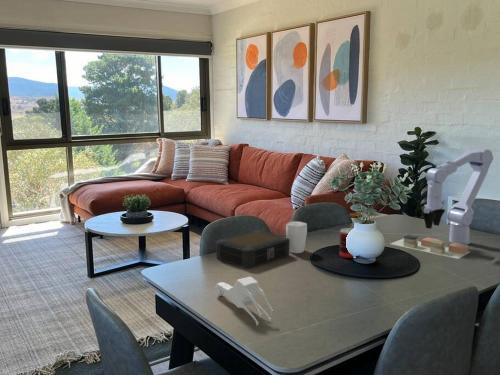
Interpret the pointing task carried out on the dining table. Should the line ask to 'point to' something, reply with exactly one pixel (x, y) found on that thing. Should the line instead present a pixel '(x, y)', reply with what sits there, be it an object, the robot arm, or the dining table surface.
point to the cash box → (252, 248)
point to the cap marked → (427, 241)
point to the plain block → (437, 246)
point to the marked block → (410, 241)
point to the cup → (296, 236)
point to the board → (427, 249)
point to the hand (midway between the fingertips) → (432, 226)
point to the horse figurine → (243, 294)
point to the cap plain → (458, 248)
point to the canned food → (344, 243)
